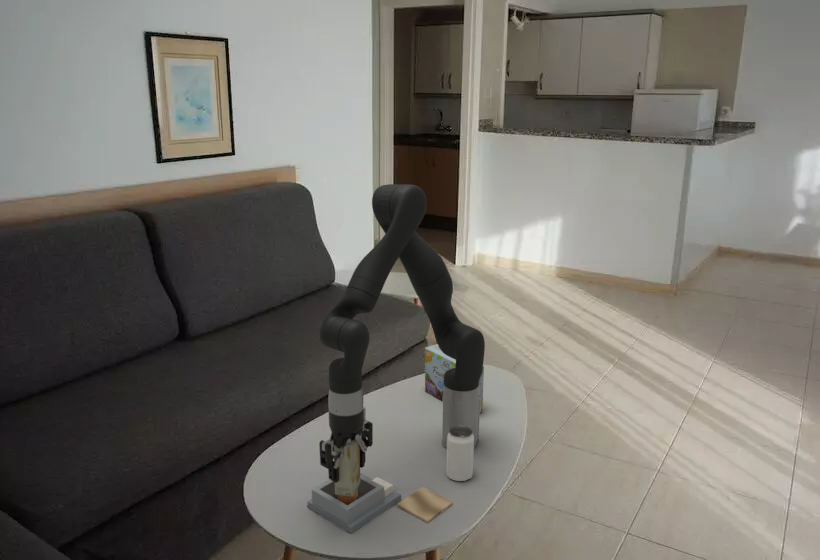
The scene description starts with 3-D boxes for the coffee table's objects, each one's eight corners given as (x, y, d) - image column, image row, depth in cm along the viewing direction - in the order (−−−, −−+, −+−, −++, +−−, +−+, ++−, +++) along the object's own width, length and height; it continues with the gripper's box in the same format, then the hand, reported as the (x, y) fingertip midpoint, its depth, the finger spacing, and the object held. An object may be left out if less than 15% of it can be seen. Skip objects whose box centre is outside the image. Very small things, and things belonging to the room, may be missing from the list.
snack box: (423, 392, 207) (423, 347, 203) (437, 387, 210) (437, 342, 206) (469, 418, 191) (471, 370, 187) (483, 412, 194) (485, 365, 190)
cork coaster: (422, 489, 157) (422, 486, 157) (453, 504, 152) (453, 502, 151) (397, 506, 151) (397, 504, 151) (427, 523, 145) (427, 520, 145)
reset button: (348, 492, 153) (348, 482, 152) (362, 500, 150) (362, 489, 149) (334, 501, 150) (334, 490, 149) (348, 509, 147) (347, 498, 146)
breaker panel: (358, 477, 162) (357, 458, 160) (401, 499, 153) (401, 480, 152) (307, 507, 150) (306, 487, 149) (351, 533, 142) (350, 513, 140)
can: (455, 485, 159) (456, 440, 155) (441, 471, 164) (442, 428, 161) (477, 478, 162) (479, 434, 158) (463, 465, 167) (465, 422, 164)
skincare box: (353, 497, 146) (352, 448, 142) (334, 495, 146) (332, 446, 143) (361, 481, 152) (360, 433, 148) (342, 479, 152) (341, 431, 149)
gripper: (333, 424, 136) (335, 494, 140) (381, 400, 146) (382, 466, 151) (309, 412, 140) (311, 480, 145) (357, 390, 151) (358, 454, 155)
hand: (347, 473), depth 148 cm, fingers closed on skincare box, 7 cm apart
